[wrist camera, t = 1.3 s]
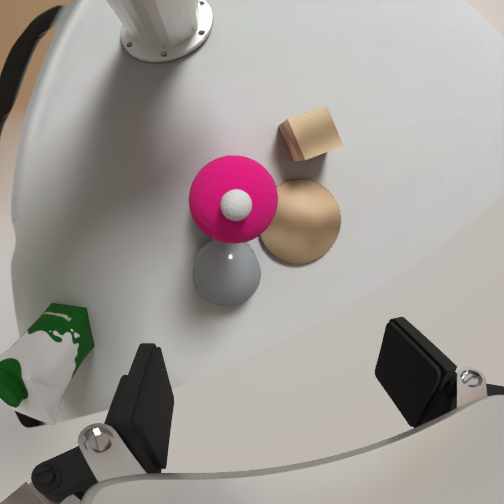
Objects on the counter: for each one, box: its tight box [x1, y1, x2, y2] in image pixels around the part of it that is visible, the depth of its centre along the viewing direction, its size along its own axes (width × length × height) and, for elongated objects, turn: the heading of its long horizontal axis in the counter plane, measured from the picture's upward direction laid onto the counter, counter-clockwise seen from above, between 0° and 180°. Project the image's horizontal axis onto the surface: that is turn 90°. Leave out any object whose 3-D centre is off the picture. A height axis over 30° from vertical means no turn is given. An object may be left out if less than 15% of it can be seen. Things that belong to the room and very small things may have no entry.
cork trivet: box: [260, 179, 341, 264], centre depth 36 cm, size 11×11×1 cm
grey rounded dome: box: [193, 239, 261, 306], centre depth 35 cm, size 8×8×4 cm
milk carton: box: [0, 303, 94, 425], centre depth 27 cm, size 9×9×20 cm
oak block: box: [279, 106, 343, 162], centre depth 31 cm, size 5×5×5 cm
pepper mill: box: [189, 156, 278, 244], centre depth 24 cm, size 7×7×20 cm
